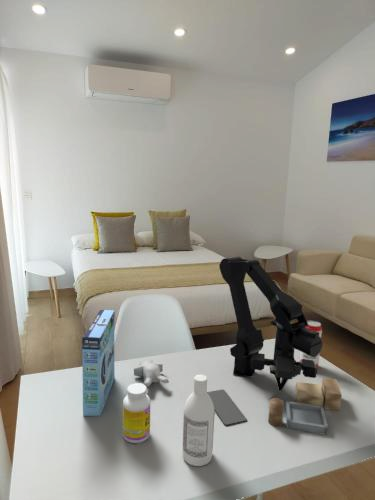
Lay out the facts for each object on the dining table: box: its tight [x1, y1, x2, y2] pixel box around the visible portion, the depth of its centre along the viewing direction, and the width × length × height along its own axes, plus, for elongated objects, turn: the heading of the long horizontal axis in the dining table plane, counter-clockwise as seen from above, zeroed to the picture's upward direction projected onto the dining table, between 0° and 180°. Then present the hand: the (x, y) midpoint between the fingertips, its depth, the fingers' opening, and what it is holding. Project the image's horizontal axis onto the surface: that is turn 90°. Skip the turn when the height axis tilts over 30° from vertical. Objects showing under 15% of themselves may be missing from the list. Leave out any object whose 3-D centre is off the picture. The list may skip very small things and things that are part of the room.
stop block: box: [321, 377, 343, 411], centre depth 107 cm, size 4×8×5 cm, turn 168°
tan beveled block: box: [295, 381, 324, 407], centre depth 109 cm, size 7×7×3 cm
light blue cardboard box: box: [81, 309, 116, 417], centre depth 104 cm, size 20×5×23 cm, turn 0°
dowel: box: [267, 397, 285, 428], centre depth 96 cm, size 4×4×6 cm
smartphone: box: [207, 388, 248, 427], centre depth 103 cm, size 7×1×15 cm
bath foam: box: [182, 374, 216, 467], centre depth 82 cm, size 7×7×20 cm
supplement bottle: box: [122, 382, 151, 444], centre depth 89 cm, size 7×7×13 cm
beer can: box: [299, 320, 323, 368], centre depth 126 cm, size 6×6×16 cm
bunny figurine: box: [133, 359, 170, 388], centre depth 115 cm, size 10×5×15 cm
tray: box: [285, 400, 329, 436], centre depth 98 cm, size 10×9×2 cm
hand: (280, 390), depth 110 cm, fingers closed
